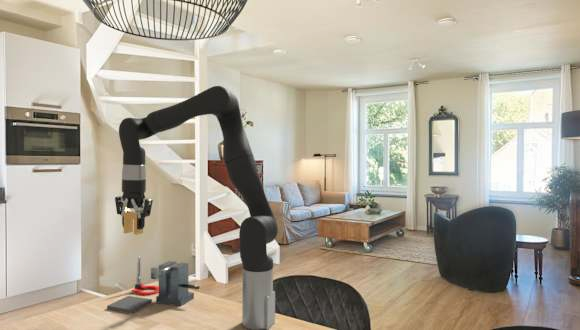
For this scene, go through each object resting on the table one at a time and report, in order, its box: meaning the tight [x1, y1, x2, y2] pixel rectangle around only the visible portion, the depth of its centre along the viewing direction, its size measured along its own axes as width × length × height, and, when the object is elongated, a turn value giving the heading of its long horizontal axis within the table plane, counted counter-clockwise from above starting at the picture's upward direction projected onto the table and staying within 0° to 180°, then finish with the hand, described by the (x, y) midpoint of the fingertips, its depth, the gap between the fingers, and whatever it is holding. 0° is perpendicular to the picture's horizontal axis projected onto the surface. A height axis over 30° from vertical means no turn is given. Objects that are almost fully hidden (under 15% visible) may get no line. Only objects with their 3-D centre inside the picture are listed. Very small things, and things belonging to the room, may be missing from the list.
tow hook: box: [131, 256, 159, 296], centre depth 152 cm, size 8×13×9 cm
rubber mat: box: [106, 295, 153, 314], centre depth 138 cm, size 10×10×1 cm
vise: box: [150, 260, 200, 307], centre depth 139 cm, size 15×16×14 cm
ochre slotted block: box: [123, 210, 144, 235], centre depth 137 cm, size 5×3×7 cm, turn 70°
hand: (133, 228), depth 137 cm, fingers closed on ochre slotted block, 5 cm apart
